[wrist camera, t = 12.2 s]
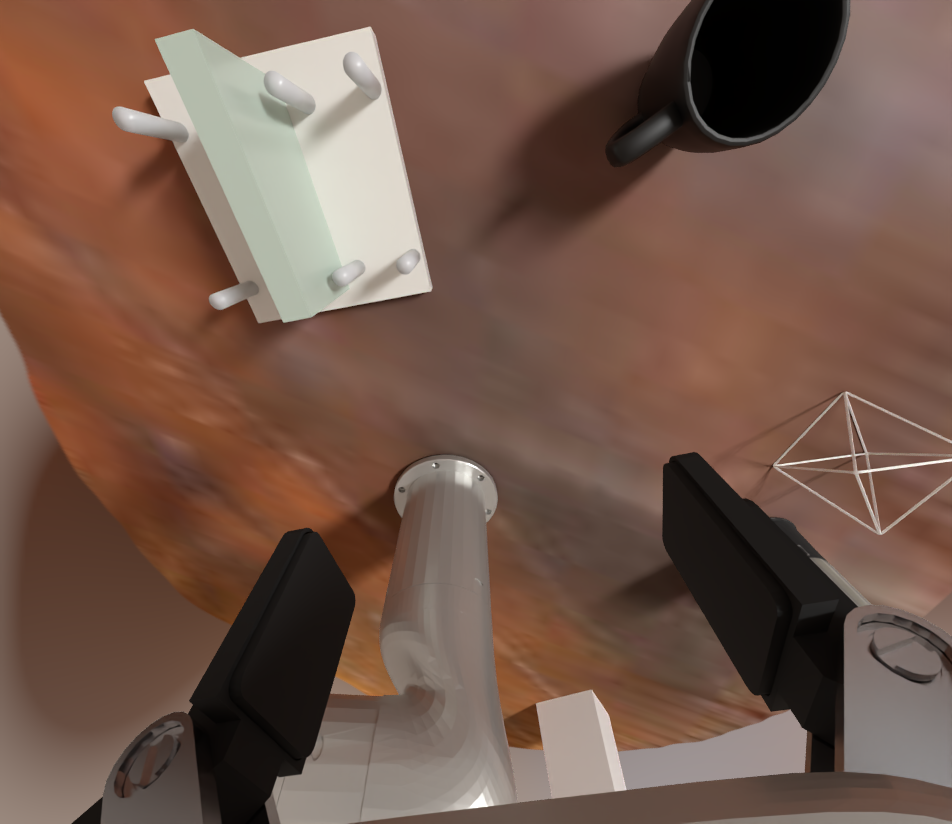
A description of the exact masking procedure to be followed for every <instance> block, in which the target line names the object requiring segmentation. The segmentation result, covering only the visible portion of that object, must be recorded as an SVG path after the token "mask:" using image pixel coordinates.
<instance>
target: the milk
mask: <svg viewBox="0 0 952 824" xmlns="http://www.w3.org/2000/svg"><path fill="white" fill-rule="evenodd" d="M536 707H537V713H538V719H539V725H540V731H541V737H542V743H543V749H544V755H545V760H546V766H547V772H548V778H549V784H550V790H551V796H552V799H554V798H562V797H571V796H580V795H588V794H597V793H606V792H615V791H623V790H626V786H625V782H624V777H623V773H622V769H621V765H620V760H619V756H618V752H617V748H616V744H615V739H614V735H613V731H612V727H611V722H610V718H609V715H608V713H607V712H606V710H605V709H604V707H603V706H602V704H601V703H600V701H599V700H598V698H597V697H596V695H595V694H594V692H593V691H592V690H588V691H584V692H580V693H576V694H572V695H568V696H564V697H560V698H556V699H552V700H548V701H544V702H539V703H536Z"/></svg>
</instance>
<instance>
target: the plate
mask: <svg viewBox="0 0 952 824" xmlns="http://www.w3.org/2000/svg"><path fill="white" fill-rule="evenodd" d="M155 41H156V44H157V46H158V48H159V50H160V52H161V55H162V57H163V59H164V61H165V63H166V66H167V68H168V70H169V72H170V74H171V77H172V79H173V81H174V83H175V85H176V88H177V90H178V92H179V94H180V96H181V99H182V101H183V103H184V105H185V107H186V110H187V112H188V114H189V116H190V118H191V121H192V123H193V125H194V127H195V129H196V132H197V134H198V136H199V138H200V140H201V143H202V145H203V147H204V149H205V151H206V154H207V156H208V158H209V160H210V162H211V165H212V167H213V169H214V171H215V173H216V176H217V178H218V180H219V182H220V184H221V187H222V189H223V191H224V193H225V195H226V198H227V200H228V202H229V204H230V206H231V209H232V211H233V213H234V215H235V217H236V220H237V222H238V224H239V226H240V228H241V231H242V233H243V235H244V237H245V239H246V242H247V244H248V246H249V248H250V250H251V253H252V255H253V257H254V259H255V261H256V264H257V266H258V268H259V270H260V272H261V275H262V277H263V279H264V281H265V283H266V286H267V288H268V290H269V292H270V294H271V297H272V299H273V301H274V303H275V305H276V308H277V310H278V312H279V314H280V316H281V319H282V321H283V323H285V322H290V321H295V320H300V319H305V318H310V317H313V316H314V315H316V314H317V313H318V312H320V311H321V310H322V309H324V308H325V307H326V306H328V305H329V304H330V303H332V302H333V301H334V300H336V299H337V298H338V297H340V296H341V295H342V294H344V293H345V292H346V291H348V290H349V289H350V288H349V285H348V284H347V285H346V286H344V287H341V286H338V285H336V284H335V283H334V281H333V279H332V275H333V272H334V271H335V270H337V269H339V268H341V267H342V265H341V262H340V259H339V256H338V253H337V251H336V248H335V245H334V242H333V239H332V236H331V233H330V230H329V228H328V225H327V222H326V219H325V216H324V213H323V210H322V207H321V205H320V202H319V199H318V196H317V193H316V190H315V187H314V184H313V182H312V179H311V176H310V173H309V170H308V167H307V164H306V161H305V159H304V156H303V153H302V150H301V147H300V144H299V141H298V138H297V136H296V133H295V130H294V127H293V124H292V121H291V118H290V115H289V113H288V110H287V107H286V104H285V102H283V101H281V100H279V99H277V98H275V97H273V96H272V95H270V94H269V93H268V91H267V90H266V88H265V85H264V76H265V73H263V72H262V71H260V70H258V69H257V68H255V67H254V66H252V65H250V64H249V63H247V62H246V61H244V60H242V59H241V58H239V57H237V56H236V55H234V54H233V53H231V52H229V51H228V50H226V49H225V48H223V47H221V46H220V45H218V44H217V43H215V42H213V41H212V40H210V39H209V38H207V37H205V36H204V35H202V34H201V33H199V32H197V31H196V30H194V29H191V30H187V31H184V32H180V33H176V34H172V35H169V36H165V37H161V38H158V39H155Z"/></svg>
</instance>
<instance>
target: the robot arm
mask: <svg viewBox="0 0 952 824" xmlns="http://www.w3.org/2000/svg"><path fill="white" fill-rule="evenodd" d="M497 502H498V497H497V489H496V484H495V482H494V480H493V478H492V477H491V475H490V474H489V473H488V471H486V470H485V469H484V468H483V467H482V466H481V465H479V464H477V463H476V462H474V461H472V460H469V459H467V458H464V457H460V456H455V455H436V456H430V457H427V458H423V459H421V460H419V461H417V462H414V463H413V464H412V465H410V466H409V467H407V468H406V469H405V470H404V472H403V473H402V474H401V475H400V477H399V479H398V481H397V483H396V487H395V491H394V503H395V507H396V509H397V512H398V513H399V515H400V516H401V518H402V521H401V526H400V531H399V536H398V540H397V545H396V550H395V555H394V560H393V564H392V569H391V574H390V579H389V584H388V589H387V593H386V598H385V603H384V608H383V613H382V618H381V623H380V630H379V642H380V649H381V655H382V658H383V661H384V664H385V667H386V669H387V671H388V674H389V676H390V678H391V680H392V682H393V684H394V686H395V688H396V690H397V691H398V693H399V695H384V696H364V695H344V694H330V691H331V688H332V684H333V681H334V678H335V674H336V671H337V667H338V664H339V660H340V657H341V653H342V649H343V646H344V642H345V639H346V635H347V632H348V628H349V625H350V621H351V618H352V614H353V611H354V607H355V594H354V592H353V590H352V588H351V587H350V585H349V583H348V582H347V580H346V578H345V577H344V575H343V573H342V572H341V570H340V568H339V567H338V565H337V563H336V562H335V560H334V558H333V557H332V555H331V553H330V552H329V550H328V548H327V547H326V545H325V543H324V542H323V540H322V538H321V537H320V535H319V534H318V533H317V532H313V531H312V529H310V528H304V529H299V530H294V531H288V532H287V533H285V534H284V535H283V537H282V539H281V540H280V542H279V544H278V546H277V547H276V549H275V551H274V553H273V554H272V556H271V558H270V560H269V561H268V563H267V565H266V567H265V568H264V570H263V572H262V574H261V576H260V577H259V579H258V581H257V583H256V584H255V586H254V588H253V590H252V591H251V593H250V595H249V597H248V598H247V600H246V602H245V604H244V605H243V607H242V609H241V611H240V612H239V614H238V616H237V618H236V619H235V621H234V623H233V625H232V626H231V628H230V630H229V632H228V634H227V635H226V637H225V639H224V641H223V642H222V644H221V646H220V648H219V649H218V651H217V653H216V655H215V656H214V658H213V660H212V662H211V663H210V665H209V667H208V669H207V671H206V672H205V674H204V676H203V677H202V679H201V681H200V683H199V684H198V686H197V688H196V690H195V691H194V693H193V695H192V697H191V699H190V700H189V701H190V702H191V703H192V704H193V706H192V708H191V709H190V711H189V713H188V714H187V713H185V712H173V713H171V714H168V715H165V716H163V717H161V718H160V719H158V720H156V721H155V722H153V723H152V724H150V725H149V726H148V727H147V728H146V729H145V730H143V731H142V732H141V733H140V734H139V735H138V736H137V737H136V738H135V739H134V740H133V741H132V742H131V743H130V744H129V746H128V747H127V748H126V749H125V750H124V751H123V753H122V754H121V756H120V757H119V759H118V760H117V762H116V763H115V765H114V766H113V768H112V771H111V772H110V775H109V777H108V779H107V781H106V785H105V789H104V793H103V797H102V798H101V799H100V800H98V801H97V802H96V803H95V804H94V805H93V806H91V807H90V808H89V809H88V810H87V811H86V812H84V813H83V814H82V815H81V816H80V817H79V818H77V819H76V820H75V821H74V822H73V823H72V824H952V637H951V636H950V635H949V634H948V633H946V632H945V631H944V630H942V629H941V628H939V627H937V626H935V625H933V624H932V623H930V622H929V621H927V620H925V619H923V618H921V617H919V616H916V615H914V614H911V613H909V612H906V611H904V610H900V609H896V608H892V607H888V606H881V605H865V606H861V607H858V606H857V605H856V604H855V603H854V602H853V601H852V600H851V599H850V598H849V597H848V596H847V595H846V594H845V593H844V592H843V591H842V590H841V589H840V588H839V587H838V586H837V585H836V584H835V583H834V582H833V581H832V580H831V579H830V578H829V577H828V576H827V575H826V574H825V573H824V572H823V571H822V570H821V569H820V568H819V567H818V566H817V565H816V564H815V563H814V562H813V561H812V560H811V559H810V558H809V557H808V556H807V555H806V554H805V553H804V552H803V551H802V550H801V549H800V548H799V547H798V546H797V545H796V544H795V543H794V542H793V541H792V540H791V539H790V538H789V537H788V536H787V535H786V534H785V533H784V532H783V531H782V530H781V529H780V528H779V527H778V526H777V525H776V524H775V523H774V522H773V521H772V520H771V519H770V518H769V517H768V516H767V515H766V514H765V513H764V512H763V511H762V510H761V509H760V508H759V507H758V506H757V505H756V504H755V503H754V502H752V501H751V500H749V499H742V498H741V497H740V496H739V495H738V494H737V493H736V492H735V491H734V490H733V489H732V488H731V487H730V486H729V485H728V484H727V483H726V482H725V481H724V480H723V479H722V478H721V476H720V475H719V474H718V473H717V472H716V471H715V470H714V469H713V468H712V467H711V466H710V465H709V464H708V463H707V462H706V461H705V460H704V459H703V458H702V457H701V456H700V455H699V454H698V453H696V452H692V453H687V454H682V455H677V456H672V457H671V458H670V460H669V463H666V464H664V466H663V534H662V537H663V543H664V546H665V549H666V551H667V553H668V554H669V556H670V558H671V559H672V561H673V563H674V565H675V566H676V568H677V570H678V571H679V573H680V575H681V576H682V578H683V580H684V581H685V583H686V585H687V586H688V588H689V590H690V592H691V593H692V595H693V597H694V598H695V600H696V602H697V603H698V605H699V607H700V608H701V610H702V612H703V613H704V615H705V617H706V619H707V620H708V622H709V624H710V625H711V627H712V629H713V630H714V632H715V634H716V635H717V637H718V639H719V640H720V642H721V644H722V646H723V647H724V649H725V651H726V652H727V654H728V656H729V657H730V659H731V661H732V662H733V664H734V666H735V667H736V669H737V671H738V673H739V674H740V676H741V678H742V679H743V681H744V683H745V684H746V686H747V687H748V689H749V690H750V691H751V692H752V693H753V694H754V695H761V696H762V698H763V699H764V701H765V703H766V704H767V706H768V707H769V709H770V711H771V712H772V711H779V710H787V709H791V711H792V712H793V714H794V715H795V717H796V718H797V720H798V722H799V723H800V725H801V726H802V728H804V729H805V730H807V744H806V761H805V773H789V774H778V775H768V776H757V777H746V778H736V779H725V780H714V781H704V782H694V783H685V784H676V785H667V786H658V787H650V788H641V789H632V790H623V791H615V792H606V793H597V794H588V795H580V796H571V797H562V798H554V799H546V800H537V801H529V802H520V803H518V800H517V791H516V784H515V778H514V771H513V766H512V761H511V756H510V751H509V746H508V741H507V736H506V732H505V727H504V721H503V716H502V711H501V705H500V699H499V693H498V686H497V679H496V670H495V660H494V647H493V632H492V616H491V601H490V583H489V565H488V548H487V530H486V523H487V522H488V521H489V520H490V518H491V517H492V516H493V514H494V512H495V510H496V507H497Z"/></svg>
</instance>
